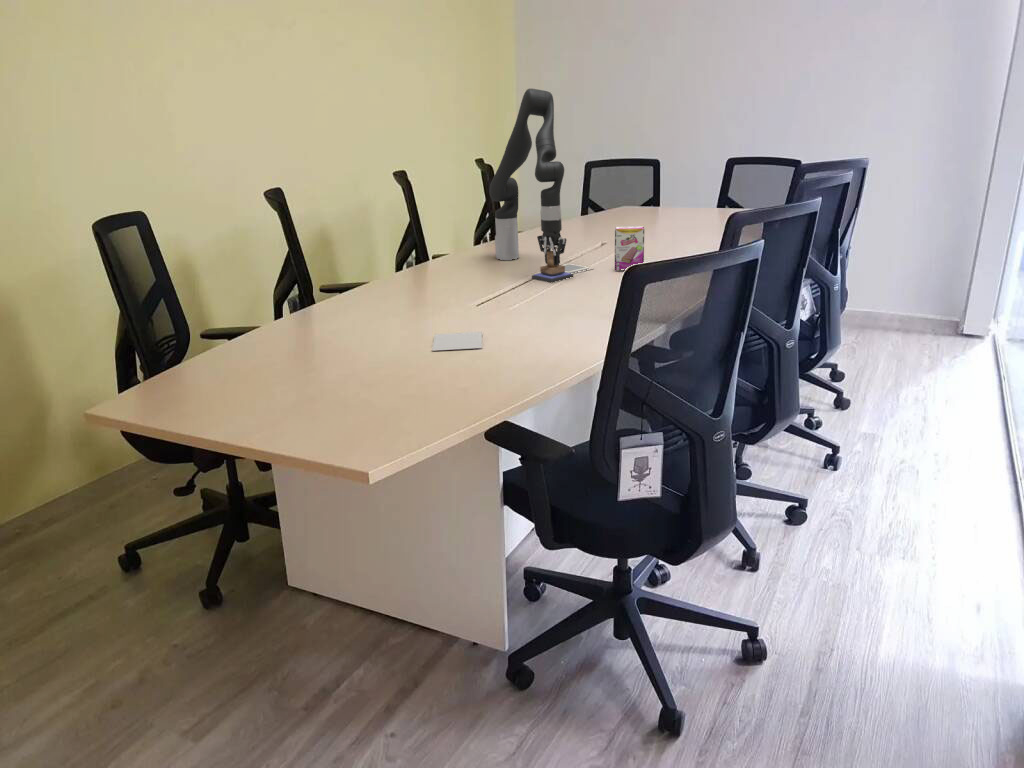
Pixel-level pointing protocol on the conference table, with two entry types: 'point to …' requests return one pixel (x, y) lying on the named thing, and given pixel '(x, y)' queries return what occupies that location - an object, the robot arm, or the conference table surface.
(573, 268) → the frame board
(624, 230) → the candy bar box
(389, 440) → the conference table surface
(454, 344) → the paper stack
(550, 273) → the stamp
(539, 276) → the ink pad
